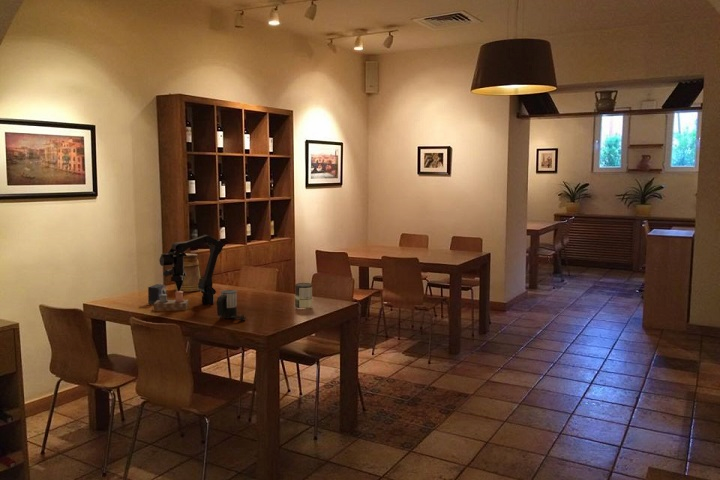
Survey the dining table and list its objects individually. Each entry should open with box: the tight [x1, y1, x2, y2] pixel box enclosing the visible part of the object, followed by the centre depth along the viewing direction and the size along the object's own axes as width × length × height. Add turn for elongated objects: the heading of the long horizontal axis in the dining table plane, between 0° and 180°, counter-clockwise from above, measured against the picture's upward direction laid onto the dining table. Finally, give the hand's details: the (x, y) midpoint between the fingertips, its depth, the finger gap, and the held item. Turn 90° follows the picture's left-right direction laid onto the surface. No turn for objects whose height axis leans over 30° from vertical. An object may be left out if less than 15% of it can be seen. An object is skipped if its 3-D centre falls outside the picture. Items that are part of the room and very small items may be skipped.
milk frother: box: [216, 289, 247, 321], centre depth 321 cm, size 14×16×15 cm
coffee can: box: [294, 282, 313, 309], centre depth 349 cm, size 10×10×14 cm
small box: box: [147, 283, 167, 305], centre depth 358 cm, size 11×6×10 cm, turn 168°
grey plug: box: [159, 293, 168, 303], centre depth 342 cm, size 5×5×8 cm
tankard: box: [174, 253, 201, 293], centre depth 398 cm, size 18×24×25 cm
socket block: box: [153, 299, 190, 312], centre depth 343 cm, size 18×10×4 cm, turn 99°
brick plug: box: [174, 290, 184, 303], centre depth 343 cm, size 5×5×8 cm
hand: (178, 290), depth 343 cm, fingers closed
